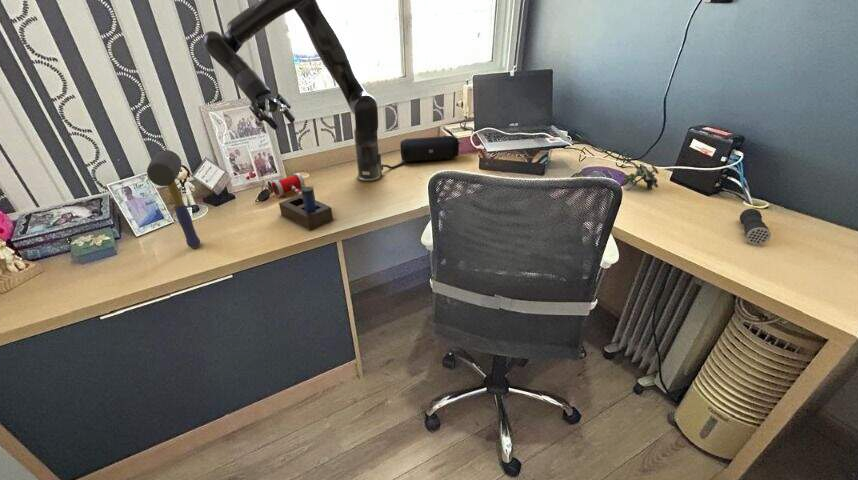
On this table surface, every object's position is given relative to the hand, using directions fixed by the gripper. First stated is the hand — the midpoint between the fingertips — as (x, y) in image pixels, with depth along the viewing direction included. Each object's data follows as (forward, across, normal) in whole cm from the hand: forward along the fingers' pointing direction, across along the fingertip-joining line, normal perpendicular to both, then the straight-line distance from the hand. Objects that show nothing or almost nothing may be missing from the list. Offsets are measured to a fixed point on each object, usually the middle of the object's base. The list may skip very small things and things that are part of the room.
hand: (285, 124), depth 142 cm
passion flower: (+100, +63, -59) cm, 131 cm away
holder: (+28, -10, +12) cm, 32 cm away
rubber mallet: (+14, -41, +27) cm, 51 cm away
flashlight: (+123, +40, -82) cm, 153 cm away
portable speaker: (+38, +61, +2) cm, 72 cm away
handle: (+31, -11, +10) cm, 34 cm away
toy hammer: (+17, +4, +24) cm, 29 cm away
